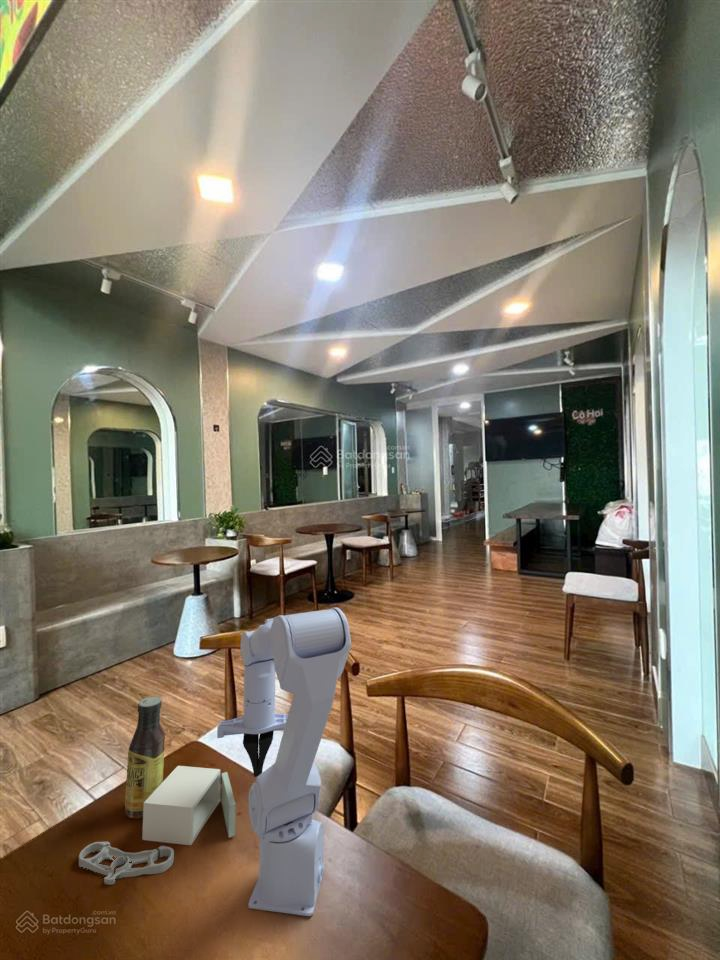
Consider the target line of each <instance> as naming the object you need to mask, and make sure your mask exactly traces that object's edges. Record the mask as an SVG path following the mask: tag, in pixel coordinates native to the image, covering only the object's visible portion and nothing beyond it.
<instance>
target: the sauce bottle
mask: <svg viewBox="0 0 720 960" xmlns="http://www.w3.org/2000/svg"><path fill="white" fill-rule="evenodd" d="M162 701H163V700H162V698H161V697H159V696H148V697H145V698H143V699H141V700H140V701H139V702H138V704H137V713H138V716H137V717H138V719H137V724H136V729H135V731H134V733H133V736H132V739H131V742H130V743H129V746H128V751H127V753H128V755H127V766H126V780H125V782H126V783H125V797H124V806H125V814H126V816H127V817H128V818H131V819H137V820H140V819H143V807H144V802H145V801H146V800H147V799H148V798H149V797H150V795H151V794H152V793H153V792H154V791H155V790H156V789H157V788H158V787H159V786H160V785H161V783H162V782H163V781H164V765H165V752H166V751H165V748H166V747H165V740H166V734H165V730H164V728H163V727H162V725H161V724H160V721H161V718H160V716H161V715H160V714H161V707H162V705H163V704H162Z"/></svg>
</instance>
